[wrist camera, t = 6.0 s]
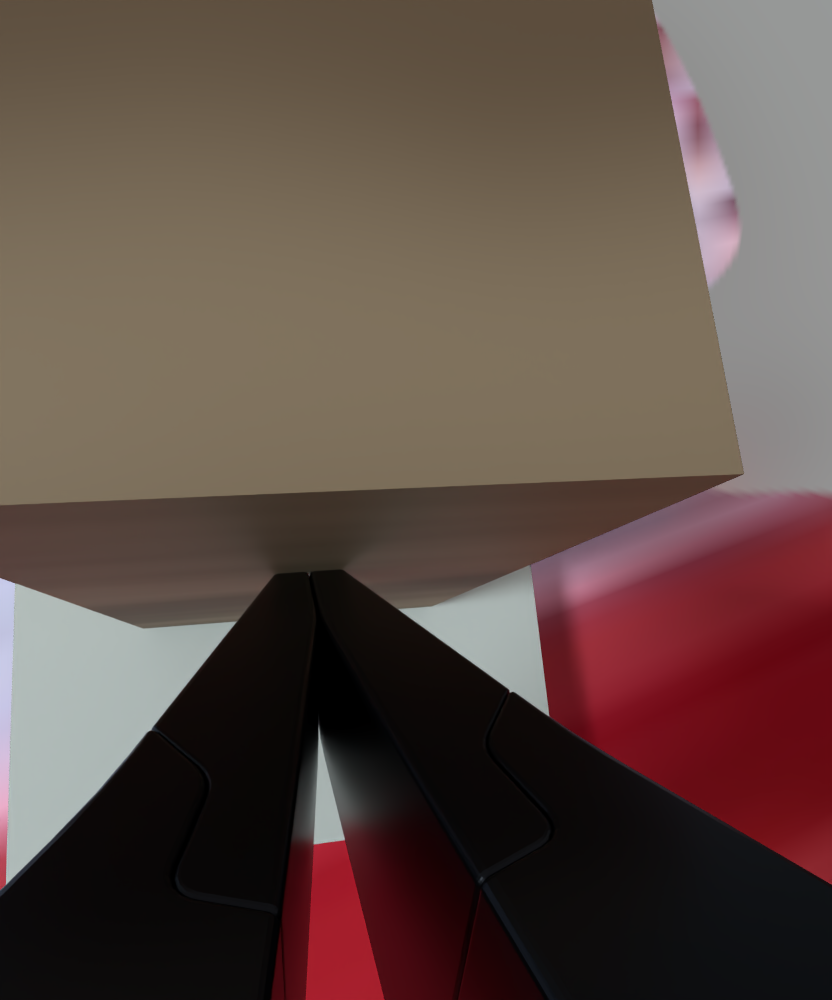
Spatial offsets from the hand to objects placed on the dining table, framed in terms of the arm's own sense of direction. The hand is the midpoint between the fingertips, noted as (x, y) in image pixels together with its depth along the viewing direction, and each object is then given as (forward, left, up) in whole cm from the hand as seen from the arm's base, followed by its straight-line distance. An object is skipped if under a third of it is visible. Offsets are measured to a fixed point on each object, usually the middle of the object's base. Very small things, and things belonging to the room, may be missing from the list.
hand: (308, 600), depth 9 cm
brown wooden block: (+1, -3, -7) cm, 7 cm away
